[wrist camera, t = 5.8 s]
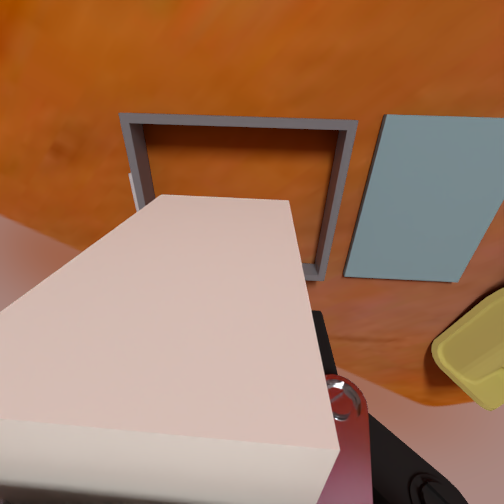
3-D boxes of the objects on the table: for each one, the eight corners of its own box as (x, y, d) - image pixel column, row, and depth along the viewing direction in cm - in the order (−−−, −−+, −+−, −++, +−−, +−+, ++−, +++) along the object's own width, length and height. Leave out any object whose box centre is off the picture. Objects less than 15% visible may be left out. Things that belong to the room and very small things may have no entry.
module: (288, 200, 9) (340, 450, 2) (273, 342, 13) (277, 592, 6) (161, 194, 10) (-130, 407, 3) (183, 336, 14) (92, 570, 7)
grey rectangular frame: (349, 119, 18) (358, 120, 16) (319, 269, 24) (323, 281, 23) (127, 112, 18) (112, 112, 17) (156, 261, 25) (148, 272, 23)
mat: (540, 119, 17) (548, 119, 17) (454, 279, 24) (457, 282, 24) (383, 114, 18) (387, 114, 17) (342, 273, 25) (344, 276, 24)
